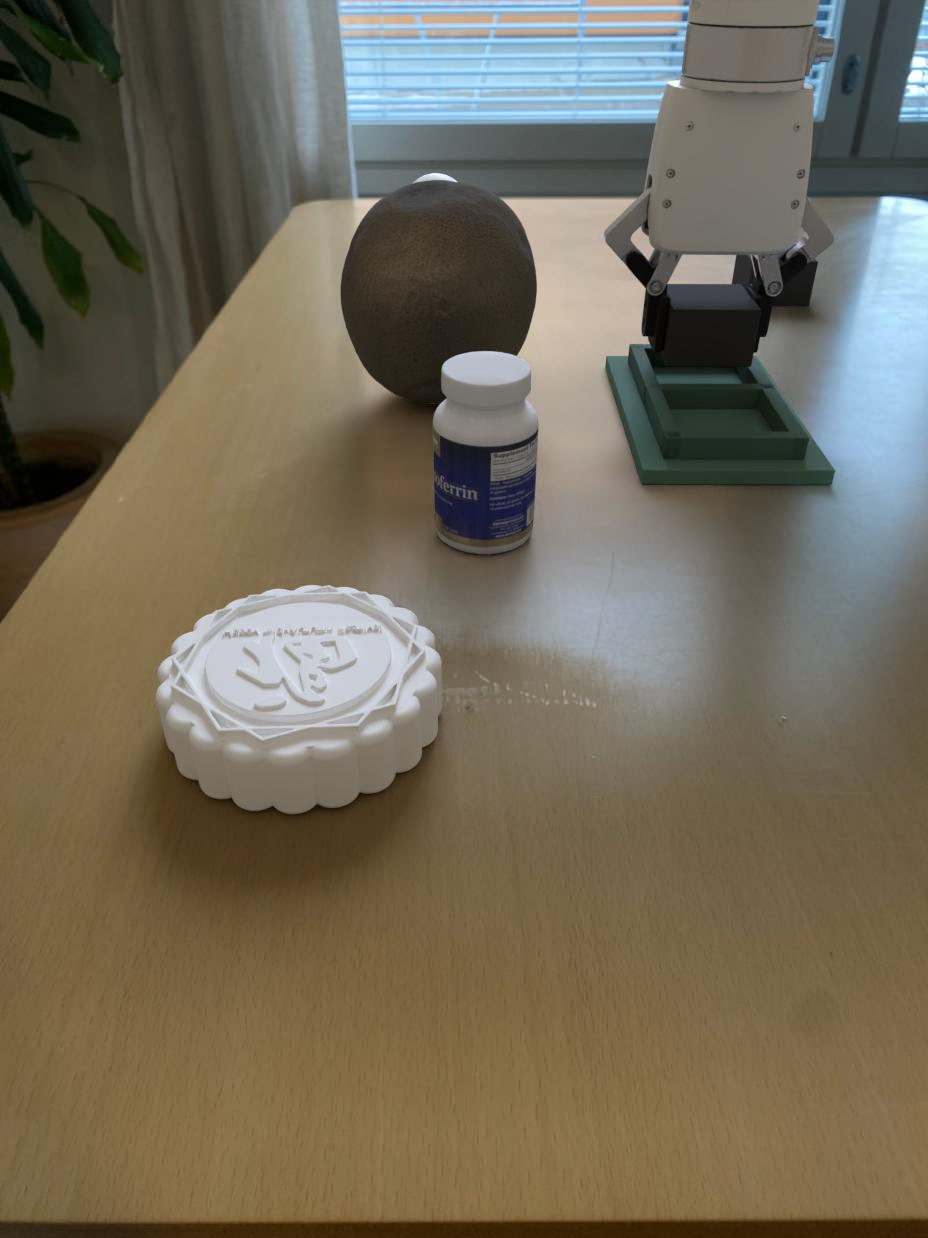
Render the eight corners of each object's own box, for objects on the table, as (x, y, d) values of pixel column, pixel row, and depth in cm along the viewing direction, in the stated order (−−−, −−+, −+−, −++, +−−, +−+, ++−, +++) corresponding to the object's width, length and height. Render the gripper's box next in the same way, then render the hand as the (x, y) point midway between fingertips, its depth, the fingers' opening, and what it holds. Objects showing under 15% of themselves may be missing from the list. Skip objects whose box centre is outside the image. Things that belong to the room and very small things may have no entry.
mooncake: (139, 824, 37) (119, 757, 35) (194, 638, 46) (181, 577, 44) (447, 812, 37) (446, 745, 35) (438, 631, 47) (437, 570, 45)
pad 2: (791, 286, 93) (799, 244, 91) (809, 305, 89) (818, 261, 86) (731, 286, 93) (737, 244, 91) (745, 305, 89) (752, 261, 86)
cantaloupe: (305, 406, 69) (282, 186, 61) (432, 354, 78) (428, 155, 69) (451, 462, 62) (449, 220, 53) (573, 397, 71) (589, 181, 62)
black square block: (732, 337, 71) (741, 283, 69) (751, 366, 66) (761, 309, 64) (652, 337, 71) (659, 283, 69) (665, 366, 66) (673, 309, 64)
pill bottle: (415, 526, 55) (409, 361, 49) (492, 499, 58) (496, 339, 52) (474, 569, 51) (475, 396, 46) (553, 537, 54) (564, 370, 48)
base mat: (754, 367, 76) (760, 337, 74) (831, 484, 59) (841, 448, 58) (605, 367, 76) (607, 336, 74) (641, 484, 59) (645, 448, 58)
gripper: (864, 53, 61) (805, 329, 71) (597, 52, 61) (577, 328, 72) (908, 65, 55) (836, 365, 65) (611, 64, 55) (587, 364, 65)
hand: (701, 343), depth 68 cm, fingers closed on black square block, 6 cm apart
